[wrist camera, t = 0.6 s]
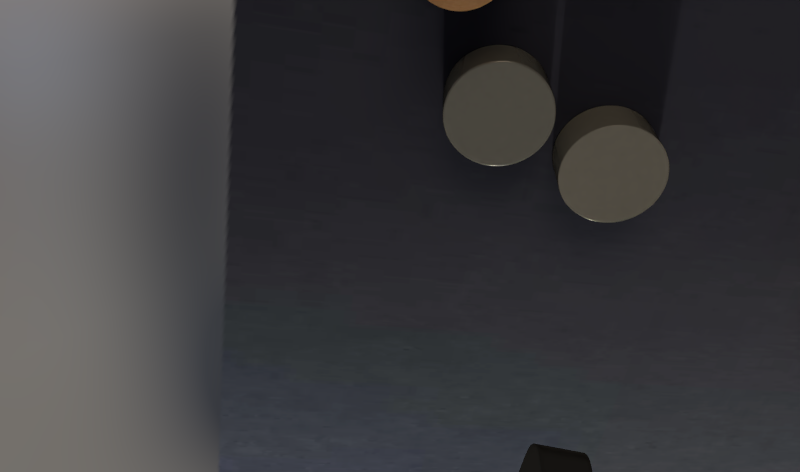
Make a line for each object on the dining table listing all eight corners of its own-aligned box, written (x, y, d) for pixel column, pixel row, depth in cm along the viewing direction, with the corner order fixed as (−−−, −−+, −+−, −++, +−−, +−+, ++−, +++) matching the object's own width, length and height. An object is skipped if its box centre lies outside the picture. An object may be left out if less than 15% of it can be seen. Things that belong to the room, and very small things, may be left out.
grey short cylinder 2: (555, 105, 35) (562, 125, 33) (664, 104, 35) (677, 124, 33) (548, 199, 38) (554, 223, 36) (649, 198, 37) (661, 222, 35)
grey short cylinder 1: (505, 21, 33) (508, 36, 31) (571, 102, 35) (579, 121, 33) (421, 91, 35) (419, 110, 33) (488, 164, 37) (490, 186, 35)
